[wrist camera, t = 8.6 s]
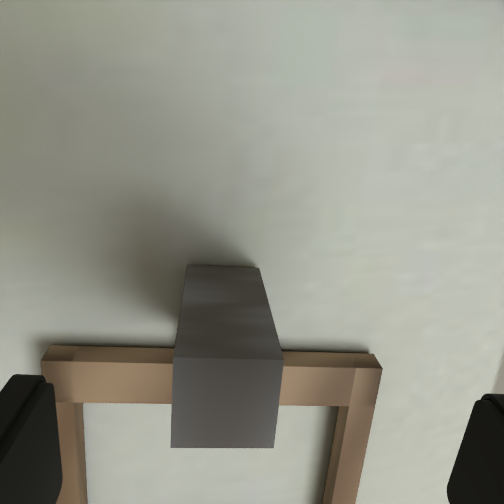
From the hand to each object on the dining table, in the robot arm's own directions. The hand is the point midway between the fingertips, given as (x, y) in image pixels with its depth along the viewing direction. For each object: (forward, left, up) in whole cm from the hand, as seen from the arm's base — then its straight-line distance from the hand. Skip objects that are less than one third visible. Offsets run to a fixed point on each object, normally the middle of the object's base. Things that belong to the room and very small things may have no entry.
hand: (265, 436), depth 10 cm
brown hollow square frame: (+5, +6, -9) cm, 13 cm away
